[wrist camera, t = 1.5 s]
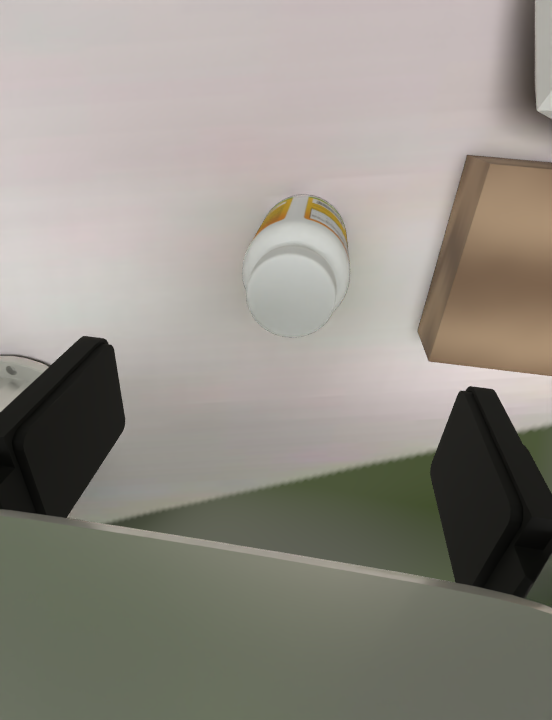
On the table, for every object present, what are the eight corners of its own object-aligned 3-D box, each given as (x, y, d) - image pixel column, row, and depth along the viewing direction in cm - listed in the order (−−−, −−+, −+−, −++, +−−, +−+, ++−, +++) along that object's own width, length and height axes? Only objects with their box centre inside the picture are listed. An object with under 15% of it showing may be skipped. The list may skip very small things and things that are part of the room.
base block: (582, 350, 28) (616, 383, 25) (417, 330, 29) (428, 361, 26) (676, 173, 22) (737, 186, 19) (467, 154, 23) (490, 163, 20)
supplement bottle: (263, 279, 28) (235, 351, 20) (258, 194, 26) (222, 238, 17) (345, 278, 28) (349, 353, 19) (348, 191, 25) (355, 235, 17)
